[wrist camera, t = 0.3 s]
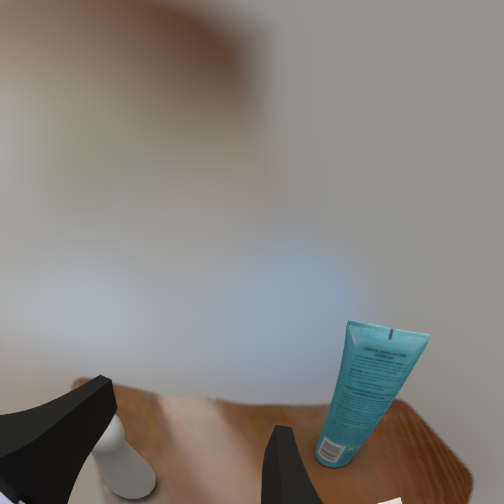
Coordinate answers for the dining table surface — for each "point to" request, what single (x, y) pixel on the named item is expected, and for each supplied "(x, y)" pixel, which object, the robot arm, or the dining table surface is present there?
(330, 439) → the tube
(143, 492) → the salt shaker
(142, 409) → the dining table surface
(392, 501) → the cream slab
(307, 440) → the dining table surface
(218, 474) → the dining table surface
